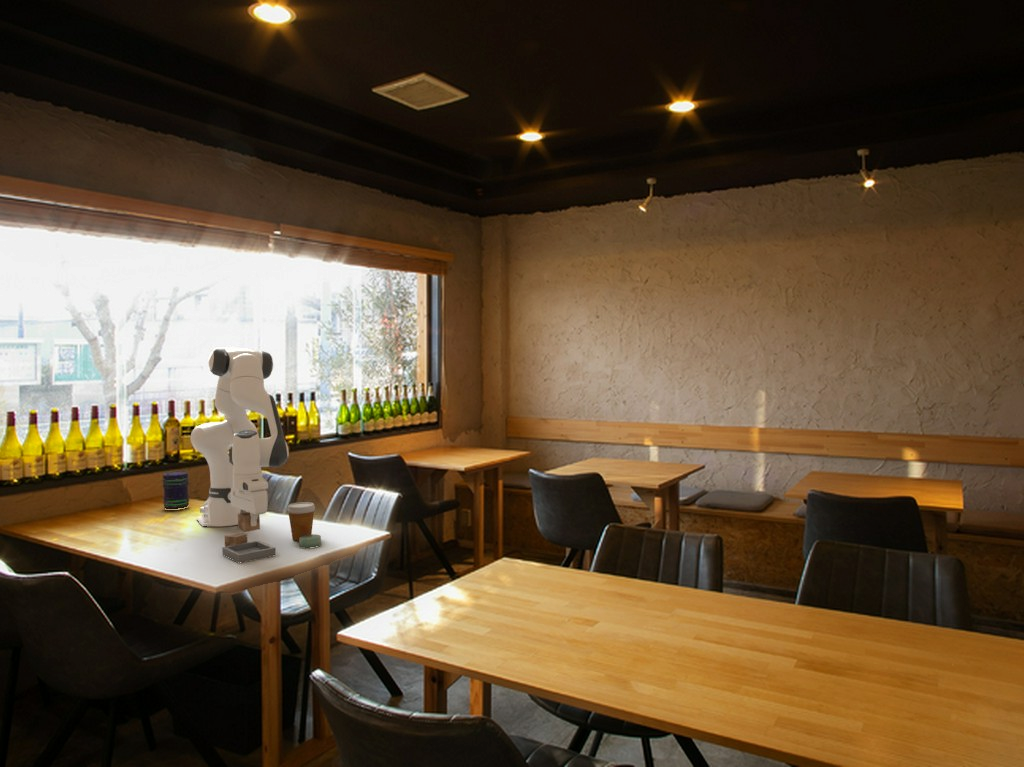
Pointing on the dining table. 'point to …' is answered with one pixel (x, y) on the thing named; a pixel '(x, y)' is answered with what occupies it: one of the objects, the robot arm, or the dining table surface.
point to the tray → (248, 551)
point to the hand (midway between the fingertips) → (248, 524)
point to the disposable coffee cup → (301, 519)
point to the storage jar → (175, 490)
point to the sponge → (310, 541)
